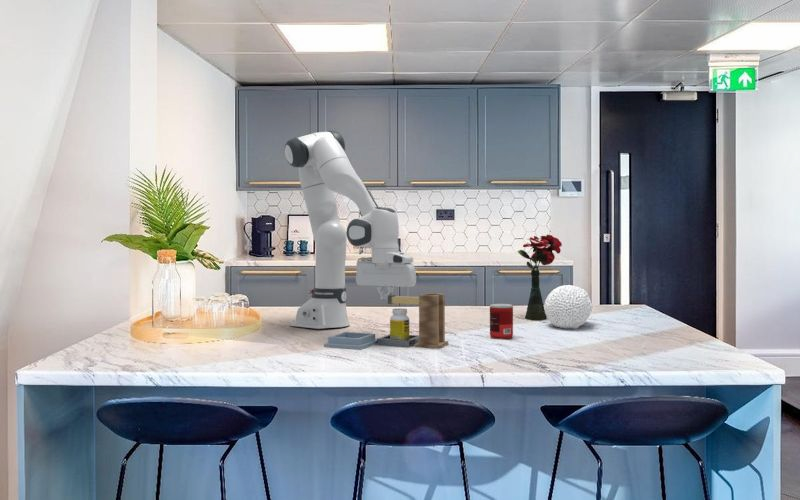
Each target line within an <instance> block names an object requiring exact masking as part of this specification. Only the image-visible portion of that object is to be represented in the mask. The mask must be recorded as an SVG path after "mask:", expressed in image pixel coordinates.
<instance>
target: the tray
mask: <svg viewBox="0 0 800 500" xmlns="http://www.w3.org/2000/svg"><path fill="white" fill-rule="evenodd" d="M327 341H328V342H324V343H323V347H324V348H336V349H337V348H338V349H346V350H347V349H349V350H360V351H362V350H363V349H367V348H370V347H372V346H375V345H377V338H376V333H369V332H355V331H354V332H352V331H351V332H350V331H343V332H340V333H337V334H336V333H335V334H333V335H330V336H328V338H327Z"/></svg>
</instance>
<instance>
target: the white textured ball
mask: <svg viewBox="0 0 800 500" xmlns="http://www.w3.org/2000/svg"><path fill="white" fill-rule="evenodd" d="M545 298H546V299H545V300H544V310H545V314H546V317H547V320H548V321H549V323H551V324H552V325H553V326H555V327H557V328H560V329H564V330H567V329H573V330H577V329H578V328H579V327H581V326H583V325H584V323H586V322H587V320H588V319H589V318H590V316H591V313H592V311H593V310H592V309H593V304H592V300H591V298H590V297H589V293H588V292H587V291H586V290H585V289H583V288H582V287H579V286H576V285H571V284H568V285H566V284H564V285H560V286H558V287H556V288H554V289H553V290H551V291H550V293H549V294H548V295H547V297H545Z"/></svg>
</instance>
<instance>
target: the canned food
mask: <svg viewBox="0 0 800 500" xmlns="http://www.w3.org/2000/svg"><path fill="white" fill-rule="evenodd" d="M513 335H514V306H513V304H509V303H494V304H492V303H491V304H490V305H489V337H490V338H491V339H496V340H508V339H512V338H513Z"/></svg>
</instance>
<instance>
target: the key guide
mask: <svg viewBox="0 0 800 500" xmlns="http://www.w3.org/2000/svg"><path fill="white" fill-rule="evenodd" d="M418 297H419V304H418V335H419V342H418V343H416V344H415V345H414V346H415V347H416V348H427V349H442V348H444V347H446V346H448V345H449V340H446V339H445V338H446V337H445V336H446V334H445V333H446V331H445V330H446V326H445V324H446V317H445V316H446V314H445V312H446V311H445V310H446V309H445V308H446V306H445V305H446V304H445V303H446V302H445V300H446V299H445V293H429V292H428V293H427V292H426V293H425V294H419V295H418Z"/></svg>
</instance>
